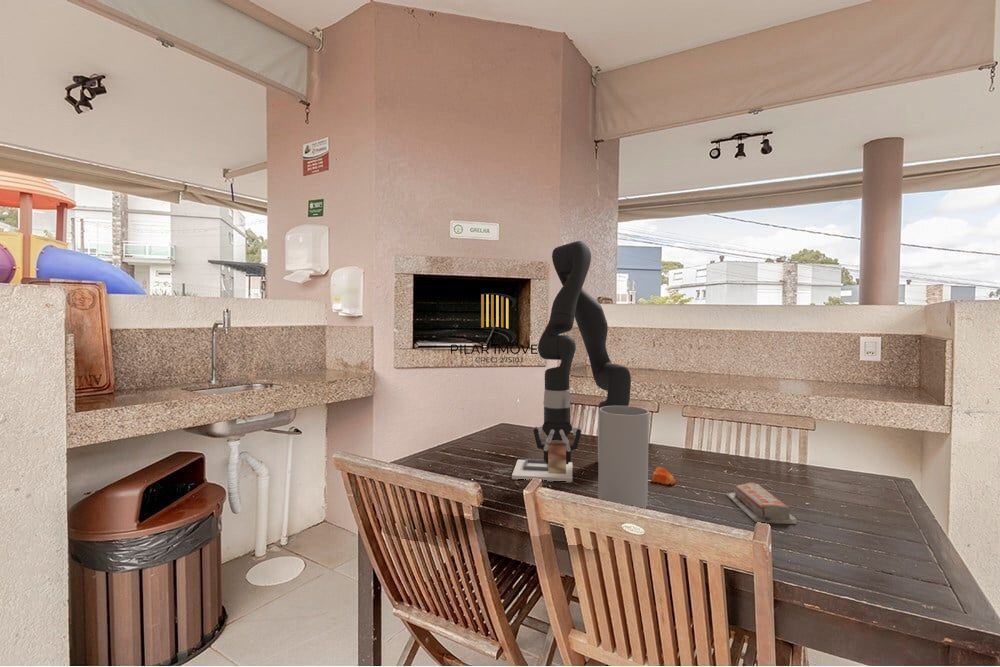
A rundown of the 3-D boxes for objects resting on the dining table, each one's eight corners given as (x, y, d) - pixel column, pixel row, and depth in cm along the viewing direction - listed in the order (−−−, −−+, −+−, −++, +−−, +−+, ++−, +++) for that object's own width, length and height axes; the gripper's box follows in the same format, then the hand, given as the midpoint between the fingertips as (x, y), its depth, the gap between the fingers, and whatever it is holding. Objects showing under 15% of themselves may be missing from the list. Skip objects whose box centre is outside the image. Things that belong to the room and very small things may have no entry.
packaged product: (799, 506, 118) (756, 505, 119) (798, 526, 119) (755, 524, 119) (763, 480, 136) (726, 479, 137) (763, 497, 136) (726, 496, 137)
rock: (675, 494, 139) (675, 479, 139) (634, 484, 147) (635, 470, 147) (691, 483, 148) (691, 469, 148) (652, 474, 156) (652, 461, 156)
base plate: (572, 465, 162) (572, 459, 162) (572, 482, 146) (572, 475, 146) (517, 463, 165) (517, 456, 165) (511, 479, 149) (511, 471, 149)
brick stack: (566, 468, 145) (566, 441, 145) (566, 474, 140) (566, 446, 140) (548, 467, 146) (548, 440, 145) (548, 473, 141) (548, 445, 140)
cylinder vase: (605, 493, 138) (607, 404, 137) (651, 501, 132) (653, 408, 131) (591, 508, 127) (593, 412, 126) (641, 518, 121) (643, 417, 120)
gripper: (582, 402, 145) (582, 460, 145) (532, 401, 146) (533, 458, 147) (582, 407, 137) (582, 468, 138) (531, 406, 139) (531, 466, 140)
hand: (557, 462), depth 143 cm, fingers closed on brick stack, 5 cm apart
